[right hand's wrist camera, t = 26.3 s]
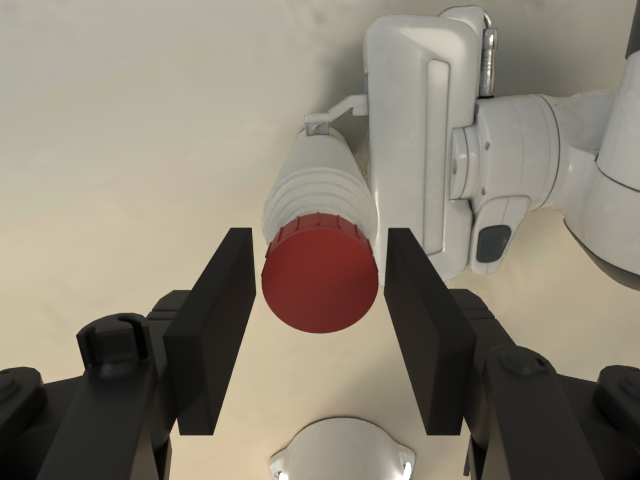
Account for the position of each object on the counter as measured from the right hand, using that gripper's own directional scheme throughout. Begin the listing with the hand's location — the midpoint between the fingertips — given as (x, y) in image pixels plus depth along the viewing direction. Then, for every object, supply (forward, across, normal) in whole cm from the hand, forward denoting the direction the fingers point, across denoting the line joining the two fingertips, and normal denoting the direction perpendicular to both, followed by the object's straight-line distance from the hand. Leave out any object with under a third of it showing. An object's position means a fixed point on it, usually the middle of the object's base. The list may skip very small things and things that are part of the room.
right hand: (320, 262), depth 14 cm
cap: (-1, 0, 0) cm, 1 cm away
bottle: (+24, 0, 0) cm, 24 cm away
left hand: (+17, -1, 0) cm, 17 cm away
